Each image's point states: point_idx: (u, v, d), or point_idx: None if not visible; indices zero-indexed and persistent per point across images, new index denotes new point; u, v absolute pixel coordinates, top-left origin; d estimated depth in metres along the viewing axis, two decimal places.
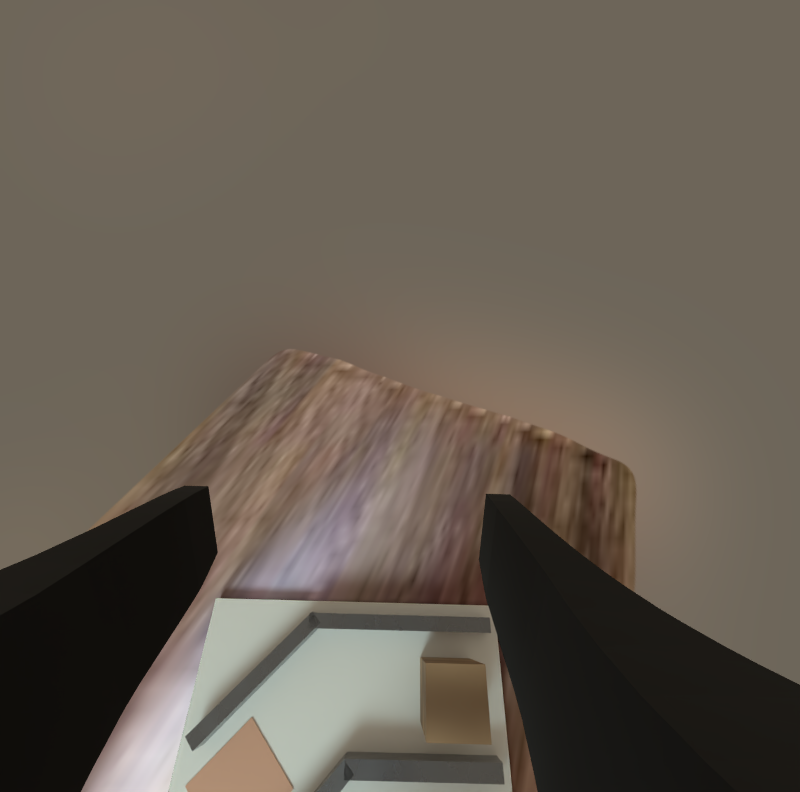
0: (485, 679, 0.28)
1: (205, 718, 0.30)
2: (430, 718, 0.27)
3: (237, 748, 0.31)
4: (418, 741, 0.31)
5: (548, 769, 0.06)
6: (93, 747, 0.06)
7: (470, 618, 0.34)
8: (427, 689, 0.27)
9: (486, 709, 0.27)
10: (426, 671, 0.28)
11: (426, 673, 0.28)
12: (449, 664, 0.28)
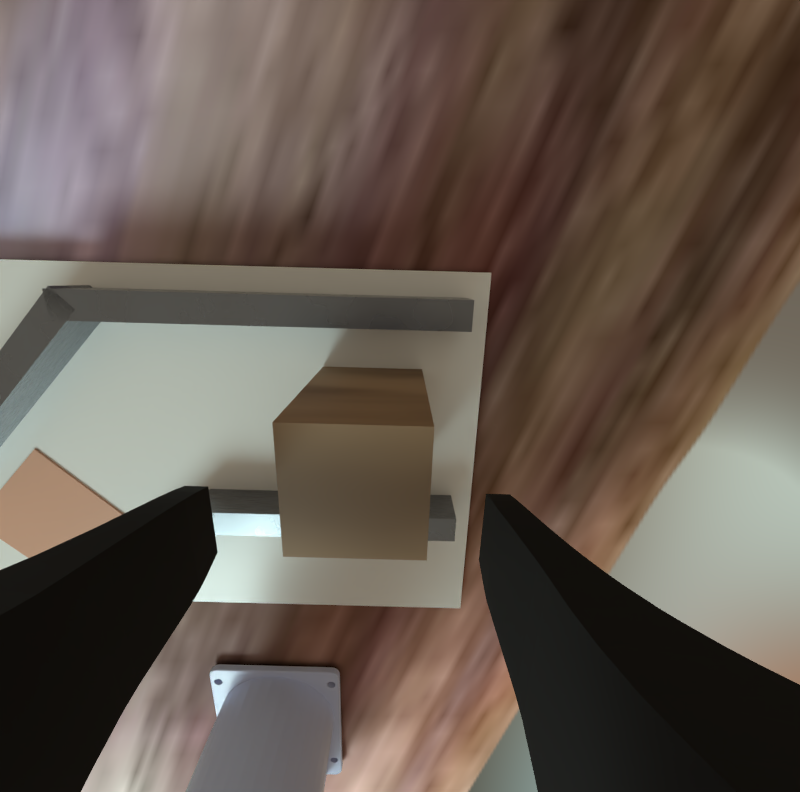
0: (429, 456, 0.11)
1: None
2: (289, 521, 0.11)
3: (31, 484, 0.19)
4: None
5: (548, 769, 0.06)
6: (93, 747, 0.06)
7: (427, 302, 0.14)
8: (280, 473, 0.11)
9: (422, 508, 0.11)
10: (276, 438, 0.11)
11: (277, 442, 0.11)
12: (337, 425, 0.10)
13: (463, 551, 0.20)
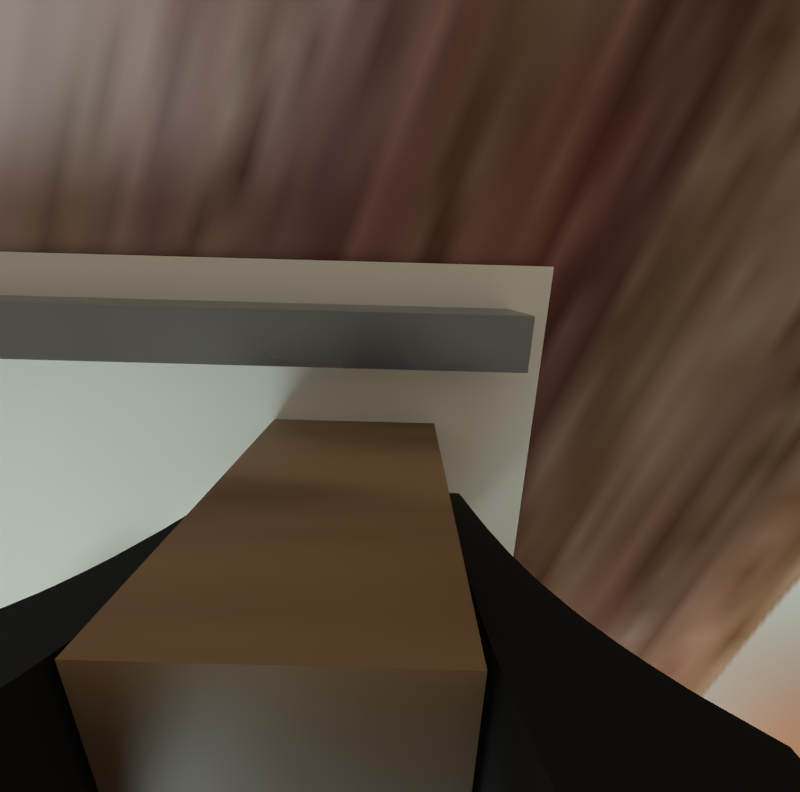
0: (472, 729, 0.04)
1: None
2: None
3: None
4: None
5: None
6: None
7: (448, 320, 0.08)
8: (98, 760, 0.04)
9: None
10: (77, 689, 0.04)
11: (80, 696, 0.04)
12: (229, 664, 0.04)
13: None
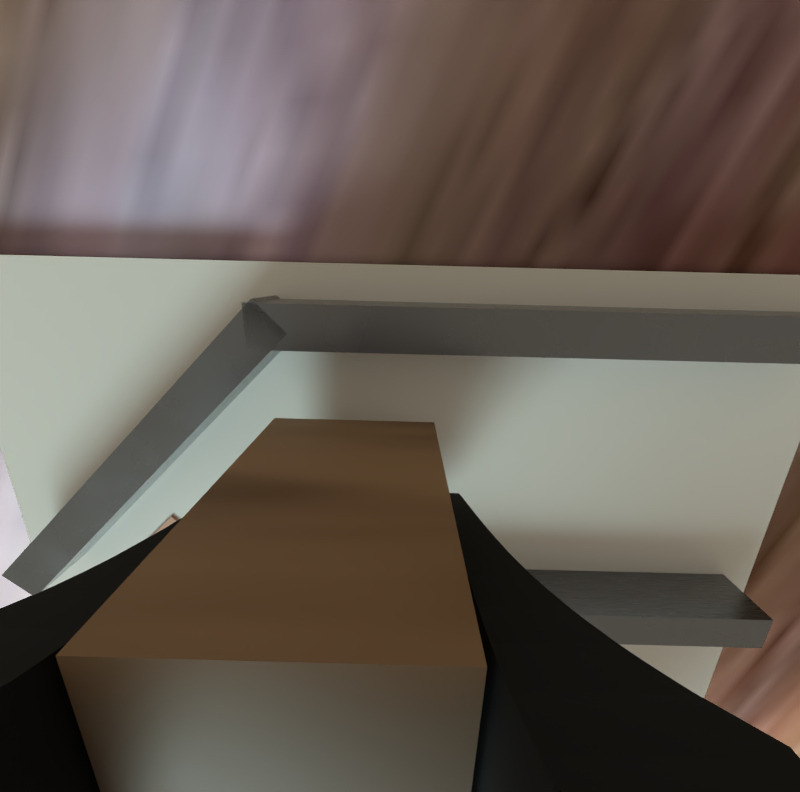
0: (472, 726, 0.04)
1: (32, 546, 0.12)
2: None
3: None
4: (555, 554, 0.14)
5: None
6: None
7: None
8: (98, 757, 0.04)
9: None
10: (78, 686, 0.04)
11: (81, 693, 0.04)
12: (230, 661, 0.04)
13: None
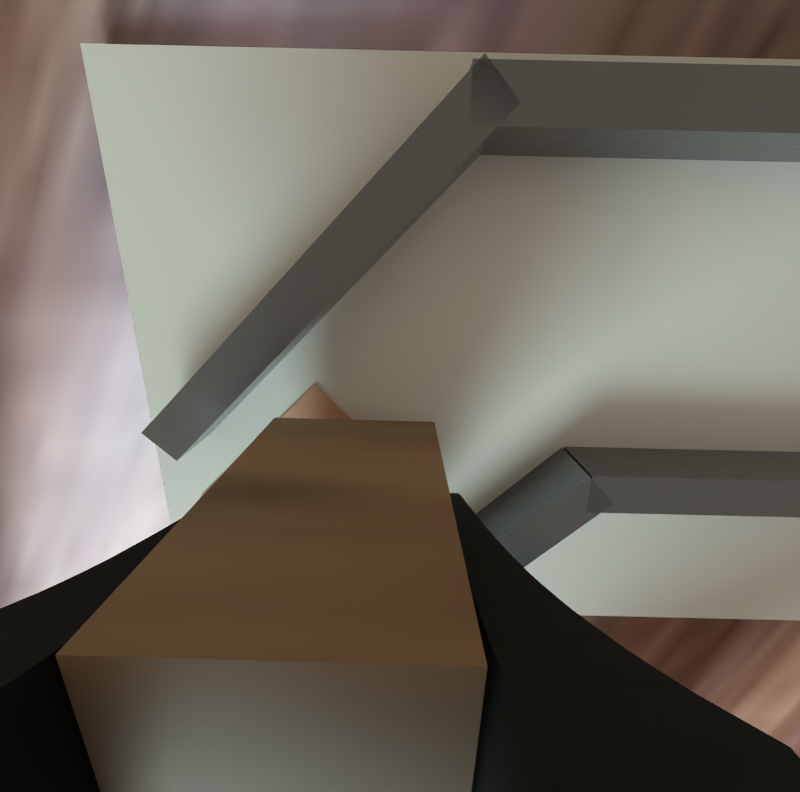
0: (472, 725, 0.04)
1: (181, 394, 0.10)
2: None
3: None
4: (741, 430, 0.12)
5: None
6: None
7: None
8: (98, 756, 0.04)
9: None
10: (78, 685, 0.04)
11: (81, 692, 0.04)
12: (230, 660, 0.04)
13: None
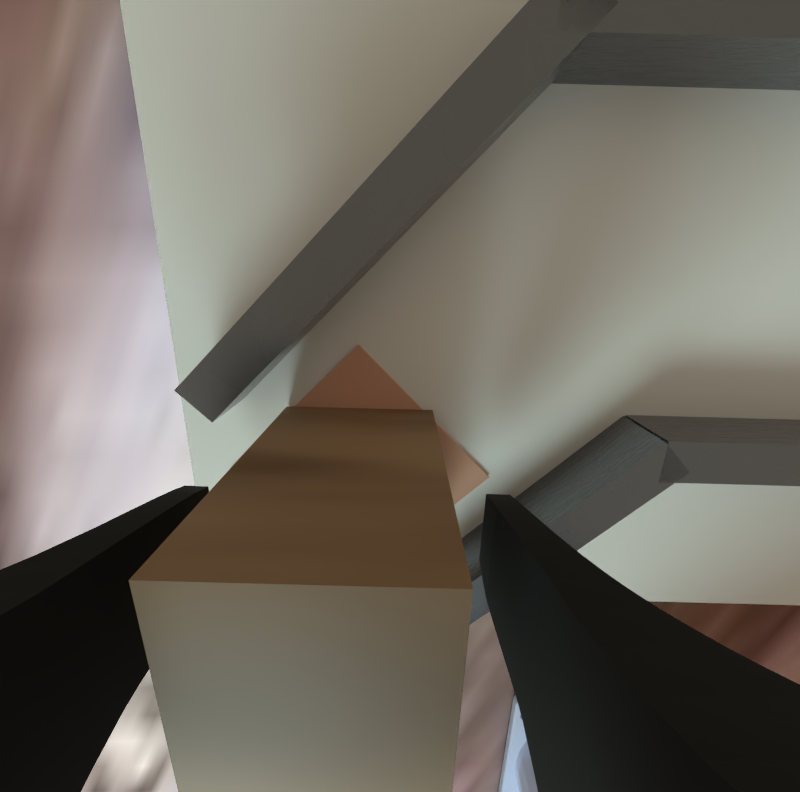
0: (461, 641, 0.05)
1: (220, 346, 0.09)
2: (185, 747, 0.06)
3: (335, 407, 0.12)
4: None
5: (548, 769, 0.06)
6: (93, 747, 0.06)
7: None
8: (157, 669, 0.05)
9: (444, 728, 0.06)
10: (143, 607, 0.05)
11: (145, 614, 0.05)
12: (267, 585, 0.05)
13: None
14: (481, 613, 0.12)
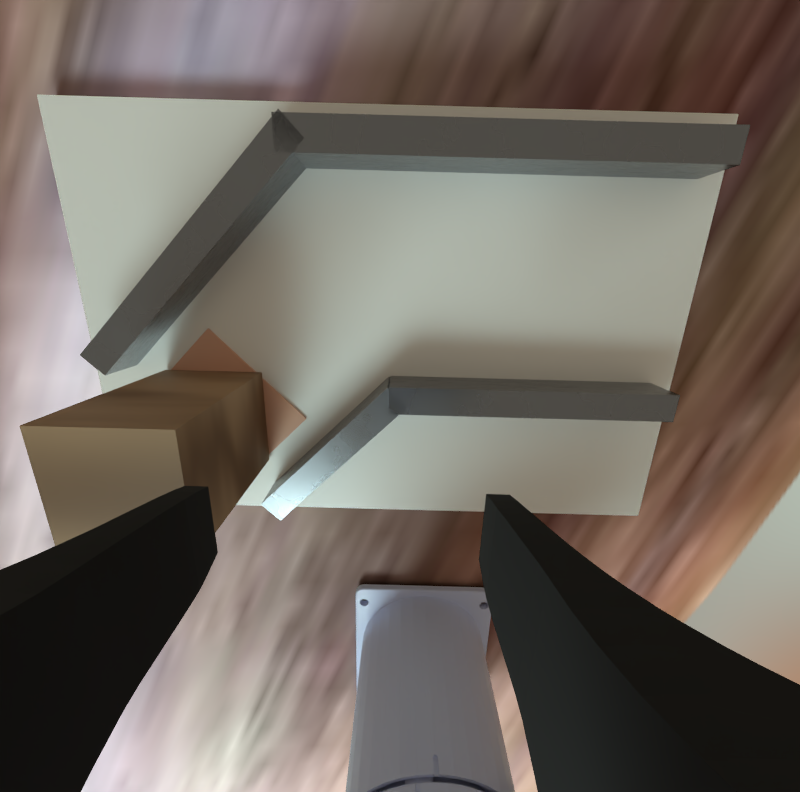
0: (177, 457, 0.11)
1: (105, 327, 0.15)
2: (56, 521, 0.12)
3: (198, 370, 0.18)
4: (514, 364, 0.17)
5: (548, 769, 0.06)
6: (93, 747, 0.06)
7: (697, 127, 0.13)
8: (37, 474, 0.11)
9: None
10: (28, 441, 0.11)
11: (30, 445, 0.11)
12: (83, 428, 0.11)
13: (652, 449, 0.19)
14: (293, 506, 0.17)
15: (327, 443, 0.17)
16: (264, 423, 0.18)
